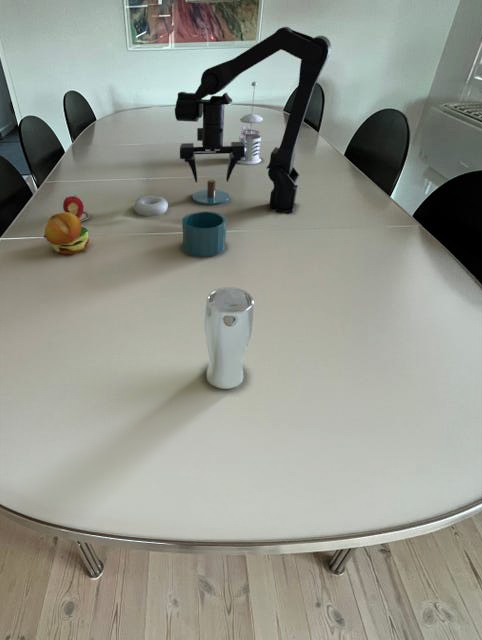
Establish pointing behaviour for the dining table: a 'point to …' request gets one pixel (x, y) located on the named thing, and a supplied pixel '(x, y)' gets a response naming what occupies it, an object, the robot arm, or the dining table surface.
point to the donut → (150, 206)
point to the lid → (211, 195)
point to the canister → (204, 234)
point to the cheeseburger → (66, 233)
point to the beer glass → (227, 334)
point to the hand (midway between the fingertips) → (211, 181)
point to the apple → (75, 207)
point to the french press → (250, 138)
